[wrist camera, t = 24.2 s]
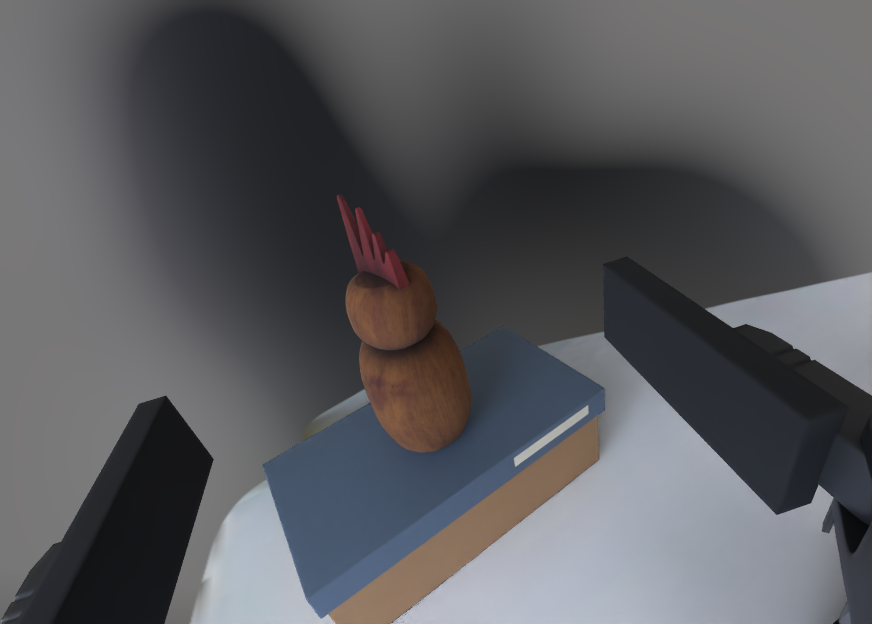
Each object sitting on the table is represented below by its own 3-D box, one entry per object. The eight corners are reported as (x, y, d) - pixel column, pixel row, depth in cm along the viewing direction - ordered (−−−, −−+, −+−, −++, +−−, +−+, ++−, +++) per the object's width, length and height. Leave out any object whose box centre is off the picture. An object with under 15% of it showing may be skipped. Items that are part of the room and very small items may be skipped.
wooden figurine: (376, 409, 30) (293, 200, 22) (454, 379, 31) (400, 168, 23) (400, 487, 24) (299, 243, 17) (494, 447, 25) (440, 198, 18)
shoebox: (513, 389, 39) (503, 325, 35) (606, 460, 31) (605, 388, 27) (302, 525, 32) (261, 464, 28) (352, 661, 24) (306, 600, 20)
